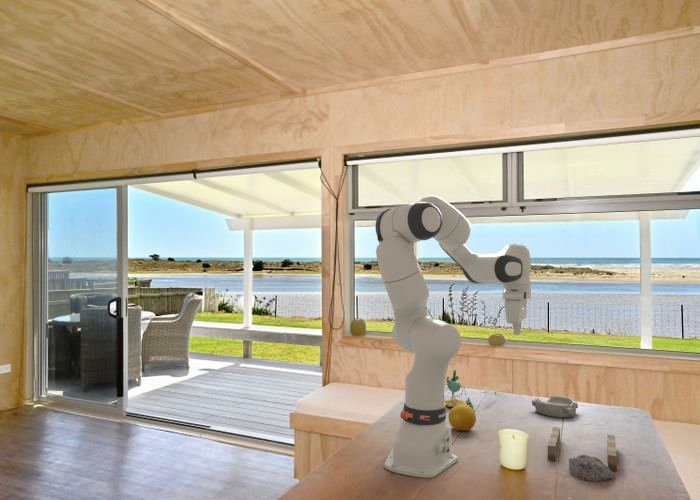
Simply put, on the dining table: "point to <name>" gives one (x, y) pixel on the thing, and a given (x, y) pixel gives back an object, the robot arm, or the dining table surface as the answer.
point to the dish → (556, 406)
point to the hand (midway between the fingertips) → (517, 334)
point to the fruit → (462, 417)
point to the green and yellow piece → (454, 387)
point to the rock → (589, 468)
